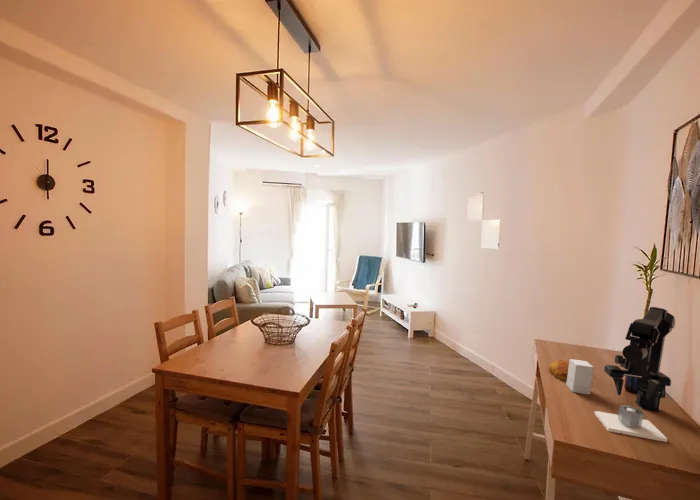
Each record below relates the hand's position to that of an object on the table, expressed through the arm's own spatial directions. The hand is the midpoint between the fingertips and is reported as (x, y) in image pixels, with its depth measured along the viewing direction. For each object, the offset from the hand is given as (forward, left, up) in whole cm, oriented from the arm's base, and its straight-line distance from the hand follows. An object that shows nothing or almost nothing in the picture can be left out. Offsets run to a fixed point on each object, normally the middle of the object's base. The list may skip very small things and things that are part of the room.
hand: (633, 397), depth 131 cm
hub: (0, 0, -10) cm, 10 cm away
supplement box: (+8, -27, -12) cm, 31 cm away
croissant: (+9, -41, -12) cm, 44 cm away
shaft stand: (0, 0, -12) cm, 12 cm away
